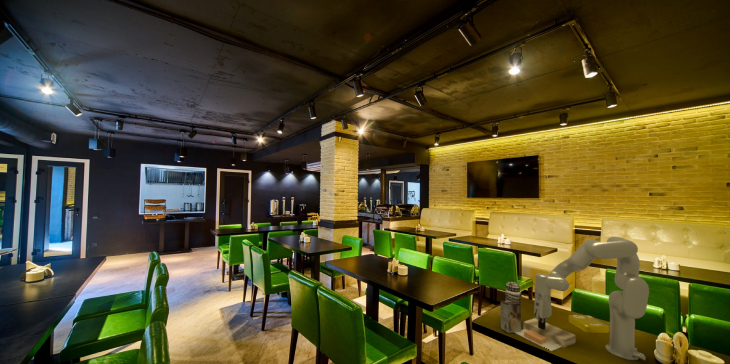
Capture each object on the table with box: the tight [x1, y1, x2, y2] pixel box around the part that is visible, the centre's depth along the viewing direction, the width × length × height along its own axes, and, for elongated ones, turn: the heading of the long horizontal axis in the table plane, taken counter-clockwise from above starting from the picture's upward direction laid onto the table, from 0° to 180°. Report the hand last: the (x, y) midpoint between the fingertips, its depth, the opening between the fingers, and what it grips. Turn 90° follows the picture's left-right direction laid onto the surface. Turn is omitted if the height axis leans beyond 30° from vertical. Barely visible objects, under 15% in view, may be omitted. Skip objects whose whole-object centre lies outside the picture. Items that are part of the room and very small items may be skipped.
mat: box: [514, 329, 563, 352], centre depth 154 cm, size 20×10×1 cm, turn 29°
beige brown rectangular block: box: [522, 317, 577, 349], centre depth 159 cm, size 22×12×4 cm, turn 29°
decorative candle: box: [504, 281, 522, 304], centre depth 173 cm, size 9×9×25 cm
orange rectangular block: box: [523, 330, 547, 346], centre depth 154 cm, size 9×6×2 cm, turn 28°
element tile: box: [568, 314, 610, 334], centre depth 172 cm, size 15×15×5 cm
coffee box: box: [499, 300, 522, 334], centre depth 164 cm, size 9×6×16 cm
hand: (541, 328), depth 156 cm, fingers closed
